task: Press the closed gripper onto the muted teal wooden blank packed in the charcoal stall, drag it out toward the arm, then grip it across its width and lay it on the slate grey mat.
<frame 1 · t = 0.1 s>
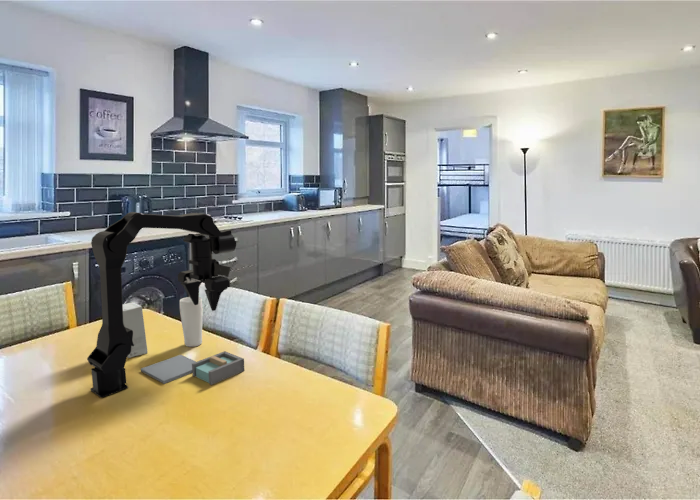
hand: (204, 307, 127), 15 cm above the table, tool pointing down, fingers open, 9 cm apart
stall: (217, 373, 116), on the table
mat: (173, 369, 119), on the table
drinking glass: (193, 344, 137), on the table
blank: (217, 375, 116), on the table
skincare box: (133, 352, 131), on the table
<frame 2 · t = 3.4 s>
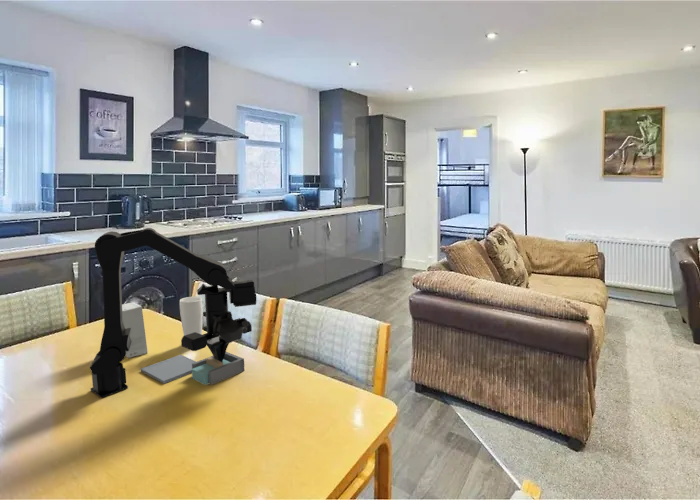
hand: (219, 363, 117), 3 cm above the table, tool pointing down, fingers closed
blank: (213, 376, 115), on the table
everything else where it was.
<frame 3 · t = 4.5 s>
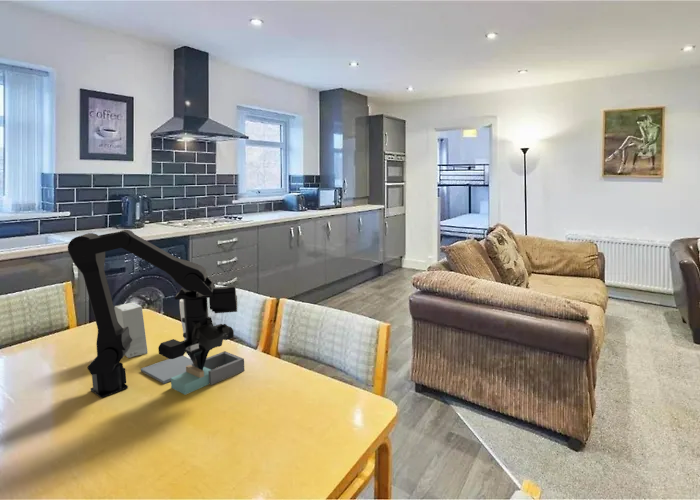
hand: (200, 371, 112), 3 cm above the table, tool pointing down, fingers closed
blank: (194, 385, 111), on the table
everything else where it was.
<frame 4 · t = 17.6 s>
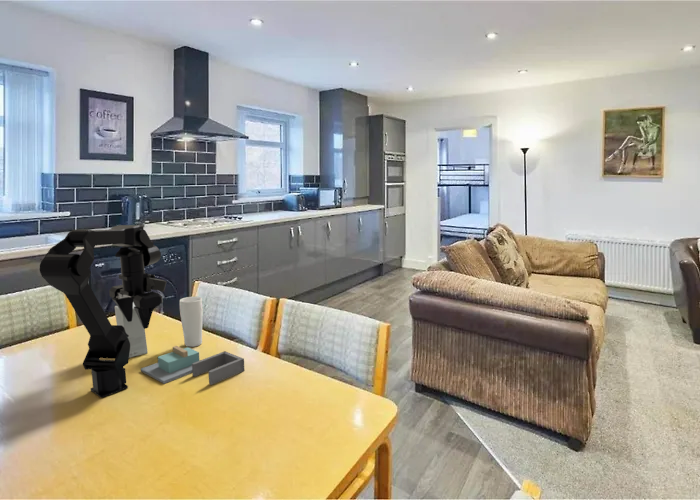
hand: (137, 324, 120), 12 cm above the table, tool pointing down, fingers open, 9 cm apart
blank: (179, 364, 120), point 1 cm above the table, touching mat
everything else where it was.
at the end: blank inside the target area on the mat (1.9 cm from its centre), point 0.8 cm above the mat's base; blank tilted 0°; the gripper is holding nothing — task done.
